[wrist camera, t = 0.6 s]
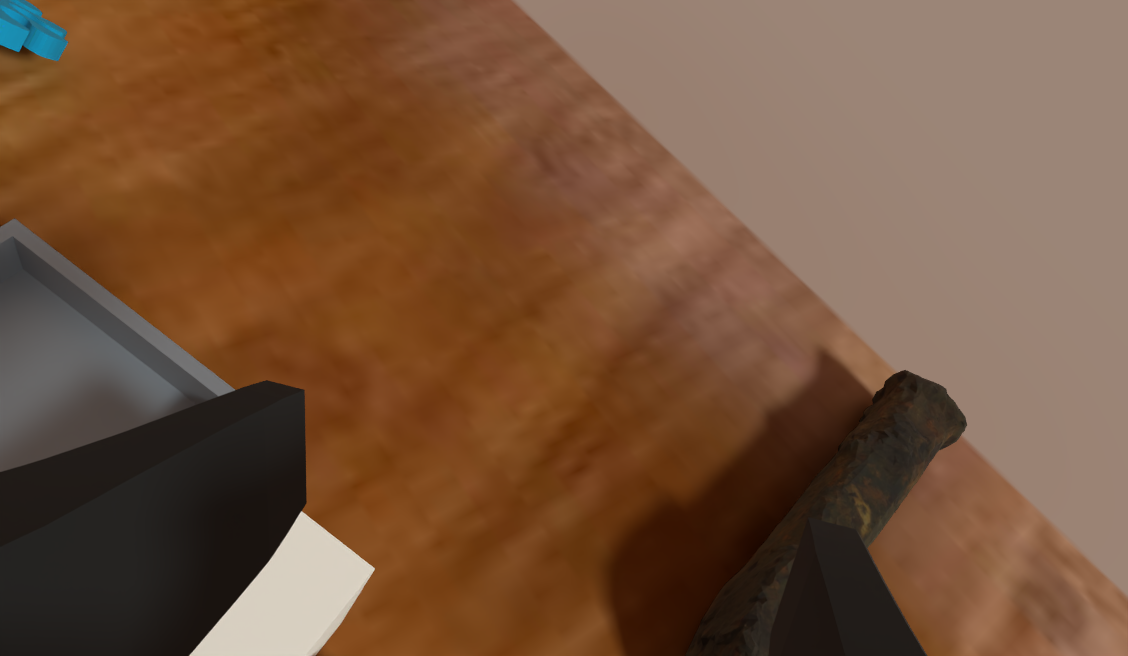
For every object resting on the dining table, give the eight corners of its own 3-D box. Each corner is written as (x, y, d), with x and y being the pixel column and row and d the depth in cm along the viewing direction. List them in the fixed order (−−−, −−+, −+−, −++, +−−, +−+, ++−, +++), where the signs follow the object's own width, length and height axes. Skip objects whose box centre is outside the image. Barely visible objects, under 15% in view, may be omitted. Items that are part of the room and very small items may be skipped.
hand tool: (864, 393, 41) (930, 348, 37) (923, 456, 40) (996, 416, 36) (611, 647, 30) (668, 618, 26) (685, 740, 29) (755, 725, 25)
